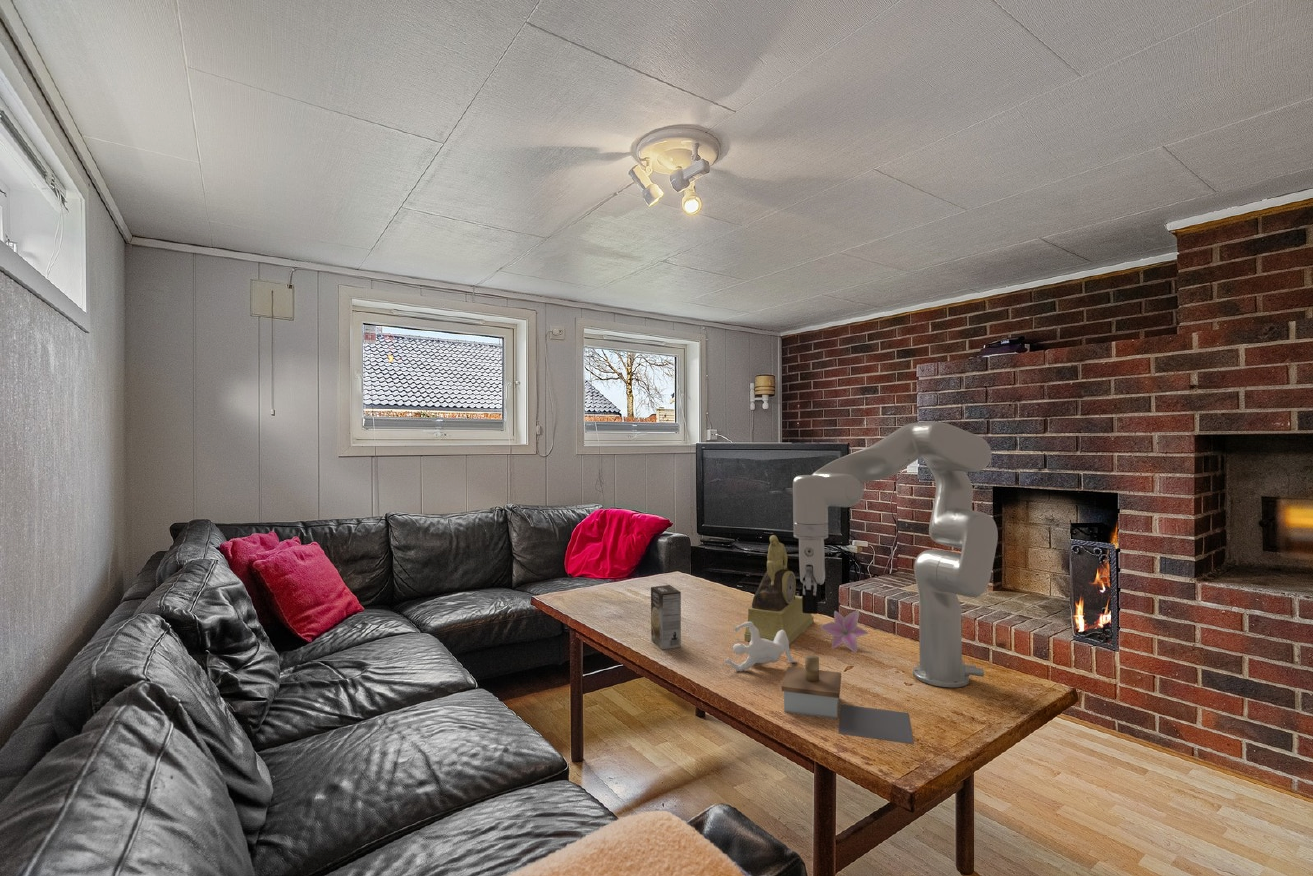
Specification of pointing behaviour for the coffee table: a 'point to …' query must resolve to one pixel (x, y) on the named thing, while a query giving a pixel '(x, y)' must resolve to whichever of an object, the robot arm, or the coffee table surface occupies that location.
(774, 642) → the person figurine
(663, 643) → the coffee box
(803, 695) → the grey square box
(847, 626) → the lily
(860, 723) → the mat
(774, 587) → the decorative clock
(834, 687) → the lid
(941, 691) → the coffee table surface
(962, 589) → the robot arm
